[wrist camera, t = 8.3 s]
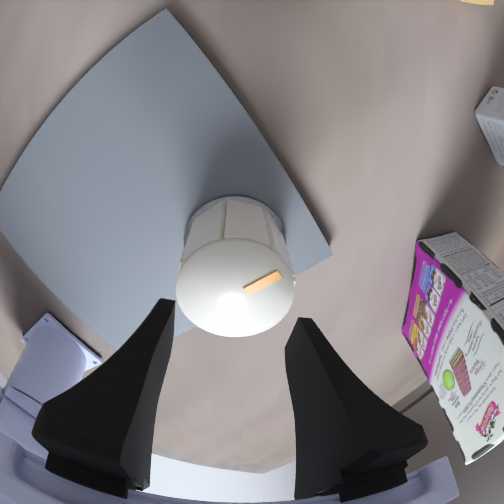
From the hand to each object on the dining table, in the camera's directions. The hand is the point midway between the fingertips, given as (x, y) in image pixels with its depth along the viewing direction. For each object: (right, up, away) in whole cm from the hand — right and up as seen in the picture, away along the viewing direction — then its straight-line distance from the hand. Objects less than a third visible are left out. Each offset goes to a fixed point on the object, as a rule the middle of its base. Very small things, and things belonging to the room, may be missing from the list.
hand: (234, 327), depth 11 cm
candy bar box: (+17, 0, +11) cm, 20 cm away
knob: (0, +4, +6) cm, 7 cm away
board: (-8, +5, +6) cm, 11 cm away
